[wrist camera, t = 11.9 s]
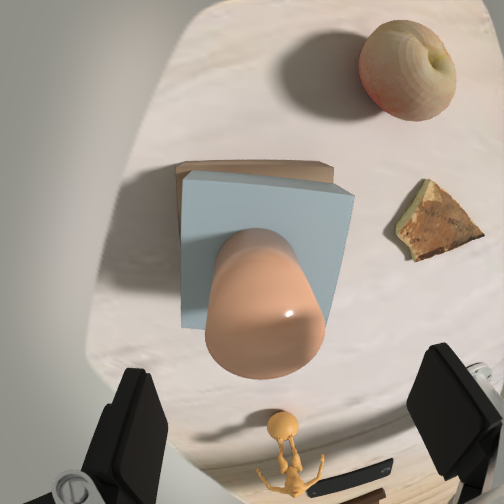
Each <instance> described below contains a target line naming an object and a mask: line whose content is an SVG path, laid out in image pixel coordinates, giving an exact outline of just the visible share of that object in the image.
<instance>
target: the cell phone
mask: <svg viewBox="0 0 504 504" xmlns="http://www.w3.org/2000/svg"><path fill="white" fill-rule="evenodd" d="M393 461H394V460H393V458H390V459H387V460H385V461H382V462H379V463H376V464H374V465H371V466H368V467H365V468H361V469H358V470H355V471H352V472H348V473H345V474H342V475H338V476H334V477H331V478H327V479H323V480H319V481H318V482H316V483H315V484H313V485H312V486H310V487H309V488H308V489H307V491H308V494H309V497H310V498H314V497H318V496H323V495H327V494H331V493H335V492H338V491H342V490H346V489H349V488H352V487H356V486H359V485H362V484H365V483H368V482H371V481H374V480H377V479H380V478H383V477H386V476H388V475H390V473H391V469H392V465H393Z"/></svg>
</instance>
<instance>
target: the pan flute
mask: <svg viewBox="0 0 504 504" xmlns="http://www.w3.org/2000/svg"><path fill="white" fill-rule="evenodd" d="M383 498H386V494H385V491H384V489H383V488H380V489H378V490H375V491H373V492H371V493H368V494H366V495H363V496H361V497H358V498H355V499H353V500H350V501H347V502H344V503H341V504H379V500H381V499H383Z"/></svg>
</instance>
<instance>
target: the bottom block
mask: <svg viewBox="0 0 504 504" xmlns="http://www.w3.org/2000/svg"><path fill="white" fill-rule="evenodd" d="M175 169H176V189H177V206H178V220H179V234H180V246H181V212H182V187H183V179H184V178H185V177H186V176H187V175H188V174H189V173H190V172H191V171H192V170H199V171H215V172H229V173H242V174H254V175H264V176H274V177H284V178H293V179H302V180H310V181H318V182H325V183H333V176H334V167H332V166H329V165H327V164H325V163H322V162H320V161H303V160H209V161H185V162H183V163H182V164H180V165H179V166H177V167H176V168H175Z"/></svg>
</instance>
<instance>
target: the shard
mask: <svg viewBox="0 0 504 504" xmlns="http://www.w3.org/2000/svg"><path fill="white" fill-rule="evenodd" d="M396 235H397V237H398V238H399V239H400V240H402V241H403V242H404V243H405V244H406V245H407V246H408V247H409V248H410V252H411V256H412V259H413V261H414V262H418V261H420V260H424V259H428V258H431V257H433V256H434V255H439V254H442V253H444V252H447V251H450V250H453V249H455V248H458V247H460V246H462V245H464V244H466V243H468V242H470V241H472V240H475V239H479V238H481V237H483V236H485V235H484V234H483V232H482V231H481V230H480V229H479V228H478V226H476V225H475V224H474V223H473V222H472V220H471V219H470V218H469V217H468V215H467V213H466V212H465V211H464V210H463V209H462V208H461V207H460V205H459V204H458V203H457V202H456V200H454V199H453V198H452V197H451V195H449V194H448V193H447V192H446V191H445V190H444V189H441V188H440V187H439V186H438V185H437V184H436V183H435V182H434V181H432V180H430V179H425V181H424V183H423V185H422V187H421V188H420V190H419V192H418V193H417V195H416V197H415V199H414V201H413V202H412V204H411V206H410V207H409V208H408V209H407V211H406V212H405V213H404V214H403V216H402V217H401V219H400V220H399V221H398V223H397V224H396Z"/></svg>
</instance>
